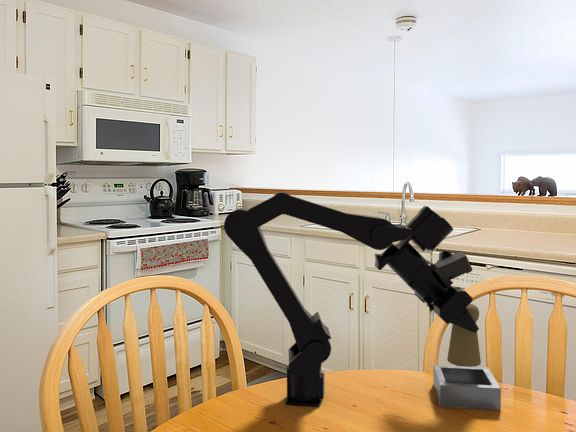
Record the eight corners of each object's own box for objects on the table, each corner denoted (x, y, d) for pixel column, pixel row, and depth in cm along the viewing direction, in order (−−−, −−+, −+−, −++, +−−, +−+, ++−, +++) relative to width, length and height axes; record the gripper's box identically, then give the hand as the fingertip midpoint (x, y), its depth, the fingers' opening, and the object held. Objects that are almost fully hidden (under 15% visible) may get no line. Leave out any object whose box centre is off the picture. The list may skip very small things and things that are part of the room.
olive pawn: (482, 368, 93) (483, 308, 93) (448, 365, 95) (448, 306, 94) (479, 357, 99) (479, 300, 98) (446, 354, 101) (447, 299, 100)
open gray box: (440, 406, 93) (440, 385, 93) (433, 384, 103) (433, 365, 103) (500, 410, 91) (500, 388, 91) (487, 387, 102) (487, 367, 101)
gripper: (461, 244, 86) (525, 308, 87) (430, 233, 105) (483, 286, 105) (413, 291, 87) (478, 354, 87) (391, 272, 105) (445, 324, 106)
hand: (471, 326), depth 97 cm, fingers closed on olive pawn, 5 cm apart
